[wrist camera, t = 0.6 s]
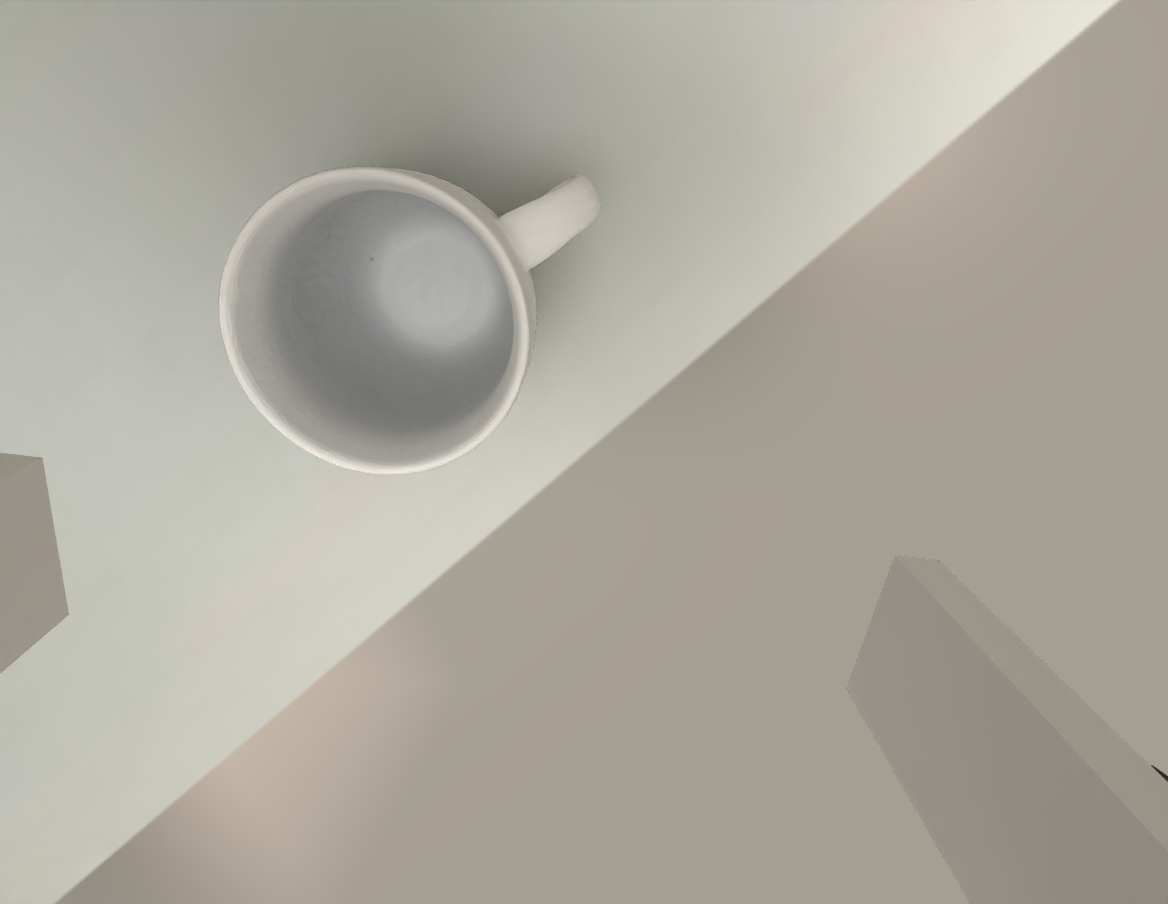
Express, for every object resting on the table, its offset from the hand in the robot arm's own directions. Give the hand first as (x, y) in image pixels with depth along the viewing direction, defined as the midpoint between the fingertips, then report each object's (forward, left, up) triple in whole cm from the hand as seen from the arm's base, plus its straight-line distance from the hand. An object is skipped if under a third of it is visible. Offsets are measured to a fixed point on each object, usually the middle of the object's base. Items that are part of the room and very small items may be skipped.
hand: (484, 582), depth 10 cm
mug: (-2, -4, -28) cm, 28 cm away
